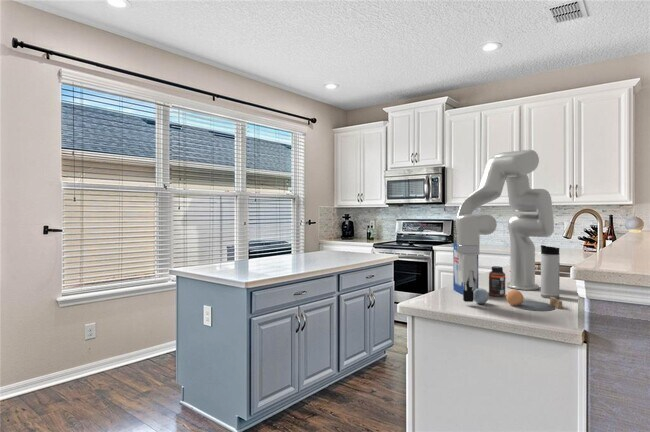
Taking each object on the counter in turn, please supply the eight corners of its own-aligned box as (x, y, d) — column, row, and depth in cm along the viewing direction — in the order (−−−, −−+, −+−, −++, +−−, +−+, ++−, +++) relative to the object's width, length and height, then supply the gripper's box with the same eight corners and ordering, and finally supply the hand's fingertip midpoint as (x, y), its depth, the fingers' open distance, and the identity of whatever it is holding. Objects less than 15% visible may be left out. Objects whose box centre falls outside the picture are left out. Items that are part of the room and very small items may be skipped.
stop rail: (550, 303, 144) (550, 296, 144) (553, 304, 144) (553, 297, 144) (558, 308, 137) (558, 301, 137) (562, 308, 137) (562, 301, 137)
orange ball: (510, 285, 145) (523, 294, 144) (501, 297, 145) (513, 306, 145) (515, 288, 139) (529, 298, 139) (505, 300, 140) (518, 310, 139)
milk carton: (453, 289, 169) (453, 242, 169) (467, 289, 170) (467, 242, 170) (463, 295, 160) (463, 244, 159) (478, 294, 160) (478, 244, 160)
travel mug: (536, 295, 157) (536, 244, 157) (552, 295, 158) (552, 244, 158) (546, 299, 151) (546, 246, 151) (563, 298, 152) (563, 245, 151)
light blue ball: (483, 287, 149) (487, 302, 147) (468, 290, 149) (472, 305, 147) (488, 286, 143) (492, 302, 142) (473, 288, 143) (477, 304, 142)
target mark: (505, 300, 149) (505, 300, 149) (545, 301, 147) (545, 301, 147) (517, 310, 135) (517, 309, 135) (562, 311, 133) (562, 310, 133)
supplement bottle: (507, 297, 155) (507, 268, 154) (490, 296, 156) (490, 267, 156) (503, 294, 161) (503, 265, 160) (487, 293, 162) (487, 265, 162)
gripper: (453, 247, 150) (453, 296, 151) (461, 252, 136) (461, 306, 136) (474, 247, 149) (474, 296, 150) (484, 252, 135) (484, 306, 135)
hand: (468, 301), depth 143 cm, fingers closed
